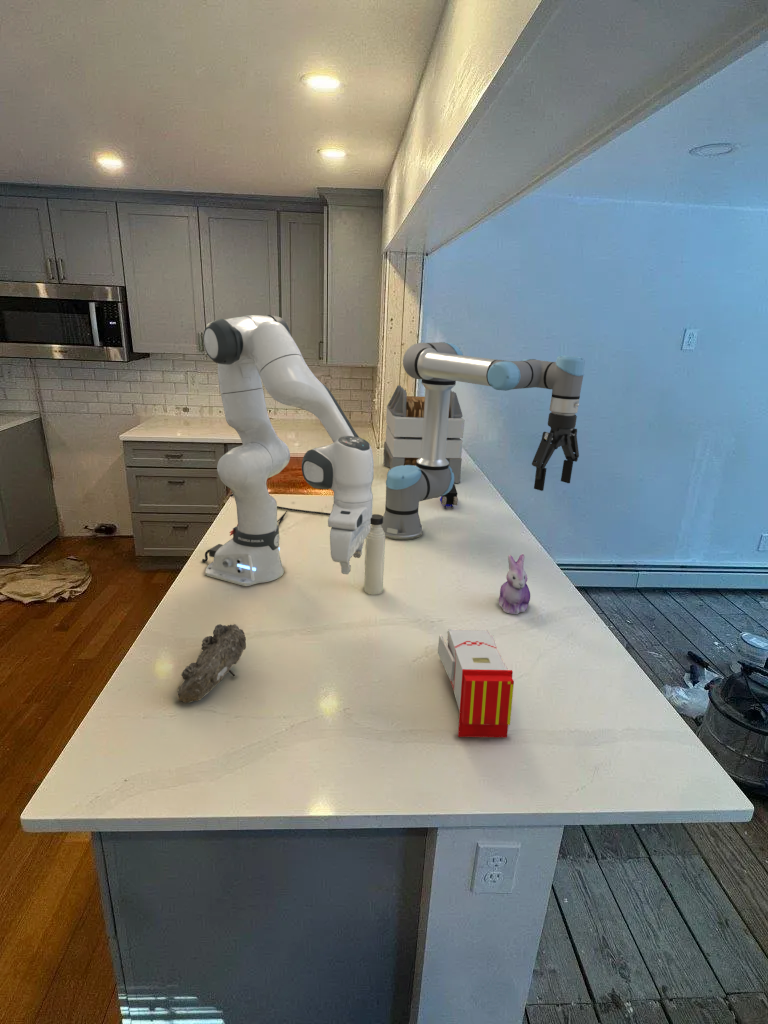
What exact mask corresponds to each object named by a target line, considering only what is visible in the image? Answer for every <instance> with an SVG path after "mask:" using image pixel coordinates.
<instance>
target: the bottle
mask: <svg viewBox="0 0 768 1024" xmlns="http://www.w3.org/2000/svg"><path fill="white" fill-rule="evenodd" d="M364 547H365V549H364V551H365V552H364V572H363V573H364V575H363V576H364V577H363V580H364V581H363V591H364V592H365V593H366V594H369V595H373V596H374V595H380V594H382V593H383V590H384V575H385V573H384V571H385V552H386V551H385V550H386V537H385V533H384V531H383V528H382V526H381V525H372V524H371V528H370V533H369V534H368V535H367V537H366V538H365V546H364Z"/></svg>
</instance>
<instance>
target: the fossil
mask: <svg viewBox="0 0 768 1024" xmlns="http://www.w3.org/2000/svg"><path fill="white" fill-rule="evenodd" d="M246 640H247V637H246V633H245V632H244V630H243V629H241V628H240V627H239V626H238V625H237V624H235V623H233V624H231V623H230V624H227V625H223V624H221V623H220V624H216V625H215V627H214V629H213V630H212V635H208V636H205V637H204V638H203V639H202V641H201V650H202V651H201V652H200V653H199V655H198V657H197V660H196V661H193V662H190V664H189V665H187V666H186V667H185V668H184V669H183V670H182V672H181V674H180V675H181V677H182V680H183V682H182V683H181V684H180V685H179V686H178V687H177V689H178V690H177V691H176V692H177V698H178V699H177V700H178V701H179V702H180V701H181V702H183V703H185V704H187V703H192V702H196V701H197V702H200V701H201V700H202V699H203V698H204V697H205V696H206V695H207V694H209V693H210V692H211V691H212V690H213V689H214V688H215V687H216V686H217V685H218V684H219V683H220V682H222V680H223V679H224V677H225V675H227V674H228V673H229V674H230V675H231V676H232V677H236V674H235V673H234V672H233V671H232V670H231V669H232V667H233V666H234V665H236V664H237V663H238V661H239V660H240V659H241V656H242V654H243V652H244V650H246V649H247V641H246Z"/></svg>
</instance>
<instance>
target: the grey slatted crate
mask: <svg viewBox="0 0 768 1024" xmlns="http://www.w3.org/2000/svg"><path fill="white" fill-rule="evenodd" d="M407 394H408V393H407V390H406V389H404V388H403V387H402V385H399V384H398V385H397V386H396V388H395V390H394V392H393V394H392V395H391V398H390V400H389V402H388V404H387V405H386V413H385V414H386V415H385V423H386V428H385V438H384V442H383V466H384V467H388V468H389V470H390V469H392V468H394V467H396V466H401V465H404V466H405V465H413V466H416V461H417V459H418V458H420V457H421V449H422V434H423V419H424V404H425V396H415V395H414V396H413V395H412V396H411V395H407ZM464 429H465V419H464V418H463V411H462V408H461V405H460V402H459V398H458V395H457V392H455V391H453V390H451V392H450V404H449V416H448V428H447V441H446V453H445V458H446V459H447V461H448V462H449V466H450V467H451V469H452V473H454V484H455V483H456V484H459V483H461V472H462V461H463V460H462V453H463V442H464V441H463V440H462V439H463V438H464V431H465V430H464Z"/></svg>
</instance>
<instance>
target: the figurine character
mask: <svg viewBox="0 0 768 1024" xmlns="http://www.w3.org/2000/svg"><path fill="white" fill-rule="evenodd" d="M439 501H440V503H441V505H442V506H443V508H444V509H445V510H447V508H448V507H450V508H451V510H454V506H458V501H459V497H458V491H457V487H456V485H455V483H454V484H453V487H452V489H451V490H450V491H449V492H448V493H447V494H445V495H443V496H441V497H440V498H439Z"/></svg>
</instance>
